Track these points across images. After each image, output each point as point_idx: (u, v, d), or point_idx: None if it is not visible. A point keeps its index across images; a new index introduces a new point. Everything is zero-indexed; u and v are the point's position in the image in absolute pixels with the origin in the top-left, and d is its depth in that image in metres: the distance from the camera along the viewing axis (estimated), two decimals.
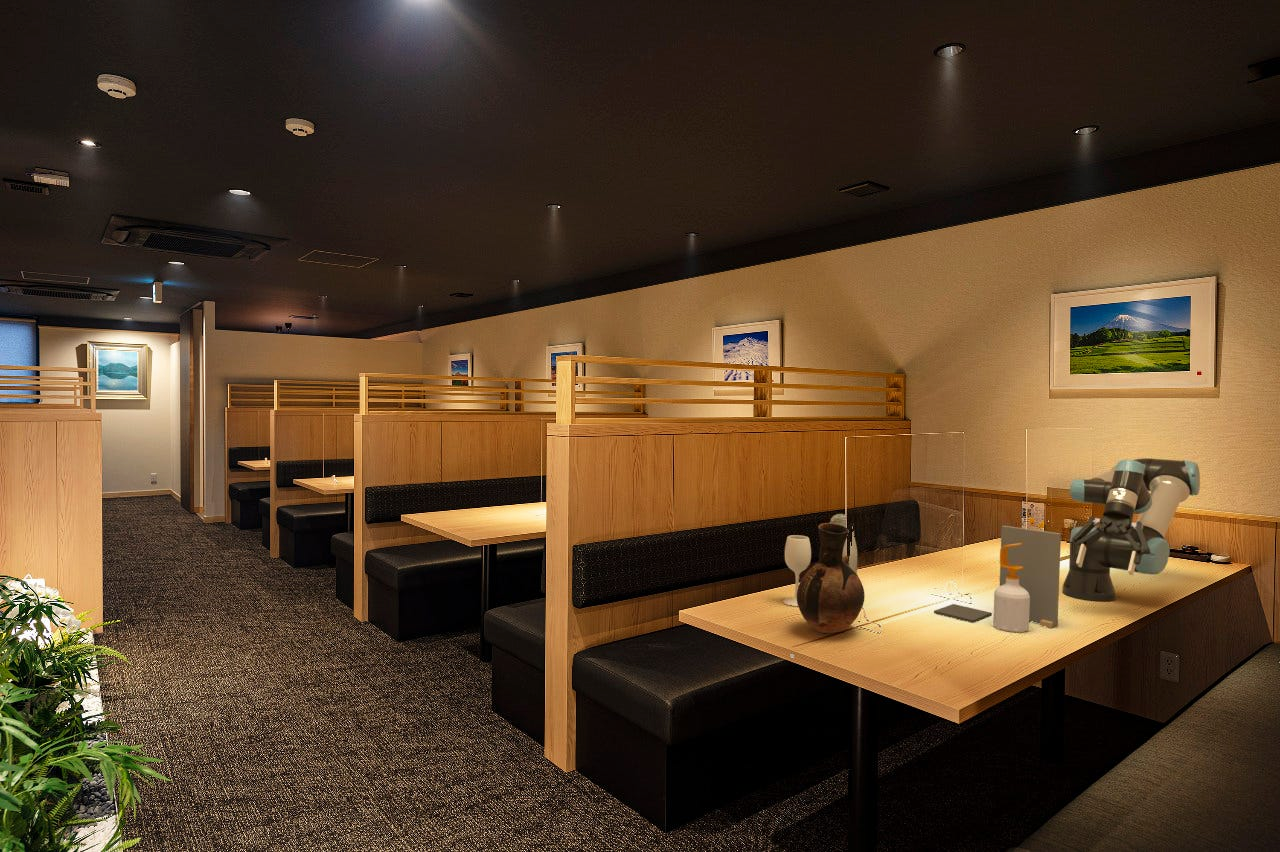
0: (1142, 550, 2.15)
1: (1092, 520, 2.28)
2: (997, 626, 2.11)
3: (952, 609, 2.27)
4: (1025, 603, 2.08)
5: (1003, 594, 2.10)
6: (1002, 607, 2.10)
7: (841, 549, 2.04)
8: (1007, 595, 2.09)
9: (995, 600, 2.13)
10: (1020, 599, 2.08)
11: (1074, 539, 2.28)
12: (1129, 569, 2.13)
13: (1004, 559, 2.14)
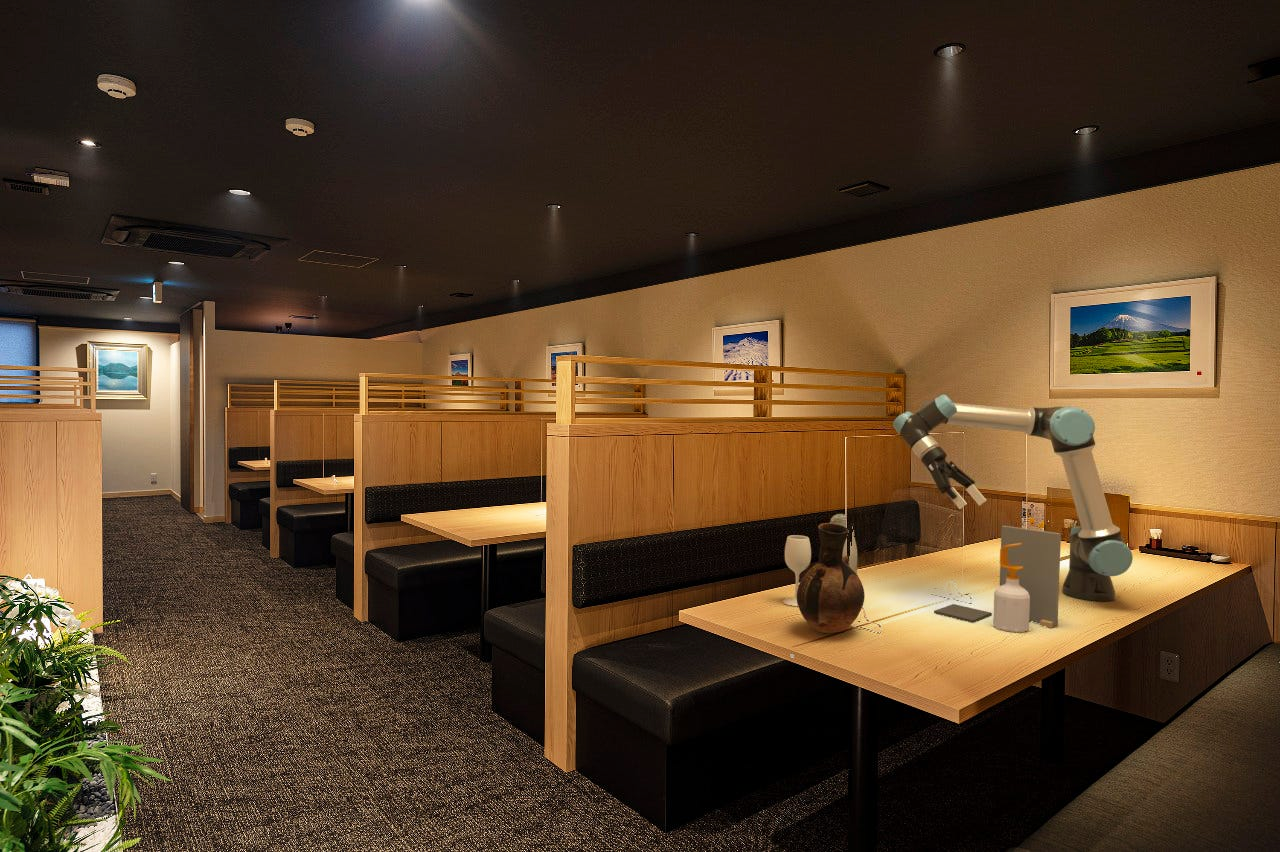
0: None
1: None
2: (997, 626, 2.11)
3: (952, 609, 2.27)
4: (1025, 603, 2.08)
5: (1003, 594, 2.10)
6: (1002, 607, 2.10)
7: (841, 549, 2.04)
8: (1007, 595, 2.09)
9: (995, 600, 2.13)
10: (1020, 599, 2.08)
11: None
12: None
13: (1004, 559, 2.14)
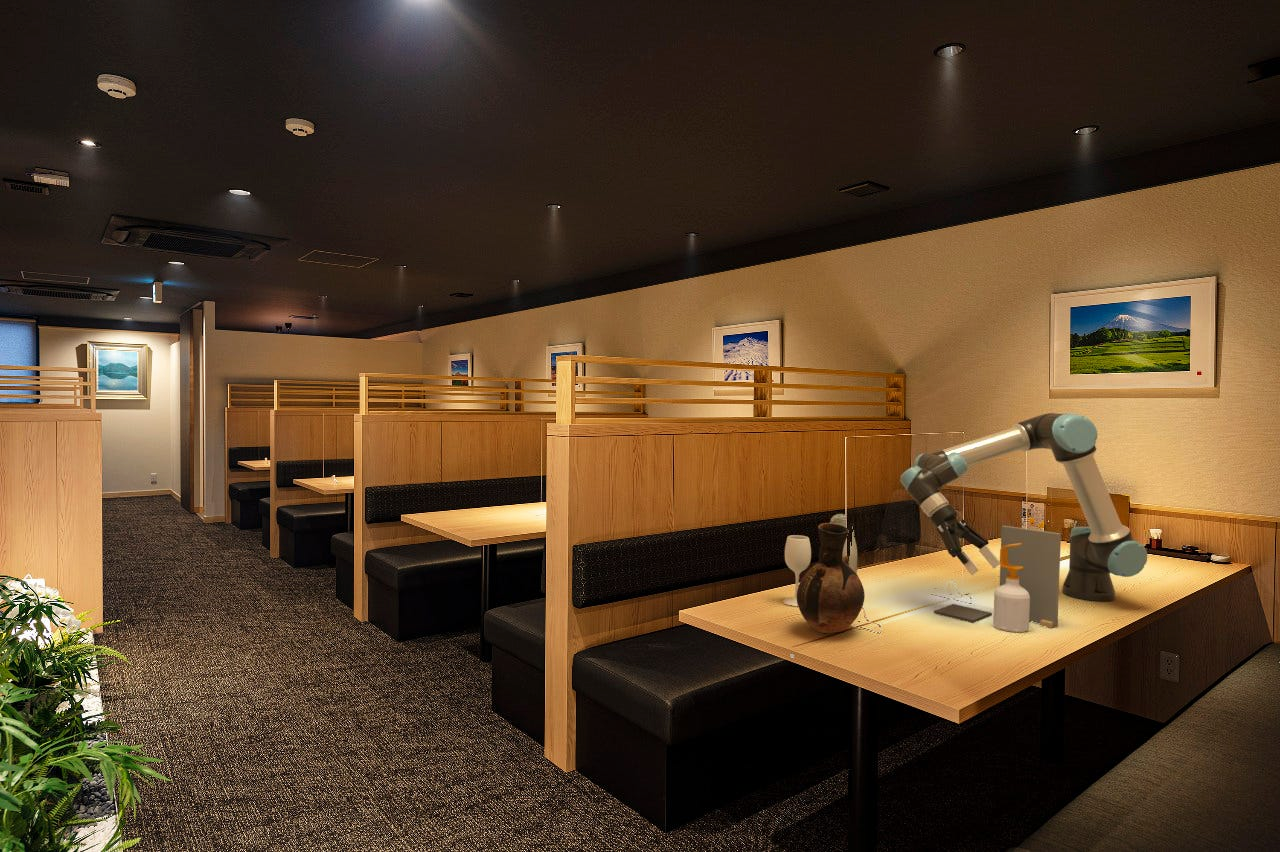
0: None
1: None
2: (997, 626, 2.11)
3: (952, 609, 2.27)
4: (1025, 603, 2.08)
5: (1003, 594, 2.10)
6: (1002, 607, 2.10)
7: (841, 549, 2.04)
8: (1007, 595, 2.09)
9: (995, 600, 2.13)
10: (1020, 599, 2.08)
11: None
12: None
13: (1004, 559, 2.14)
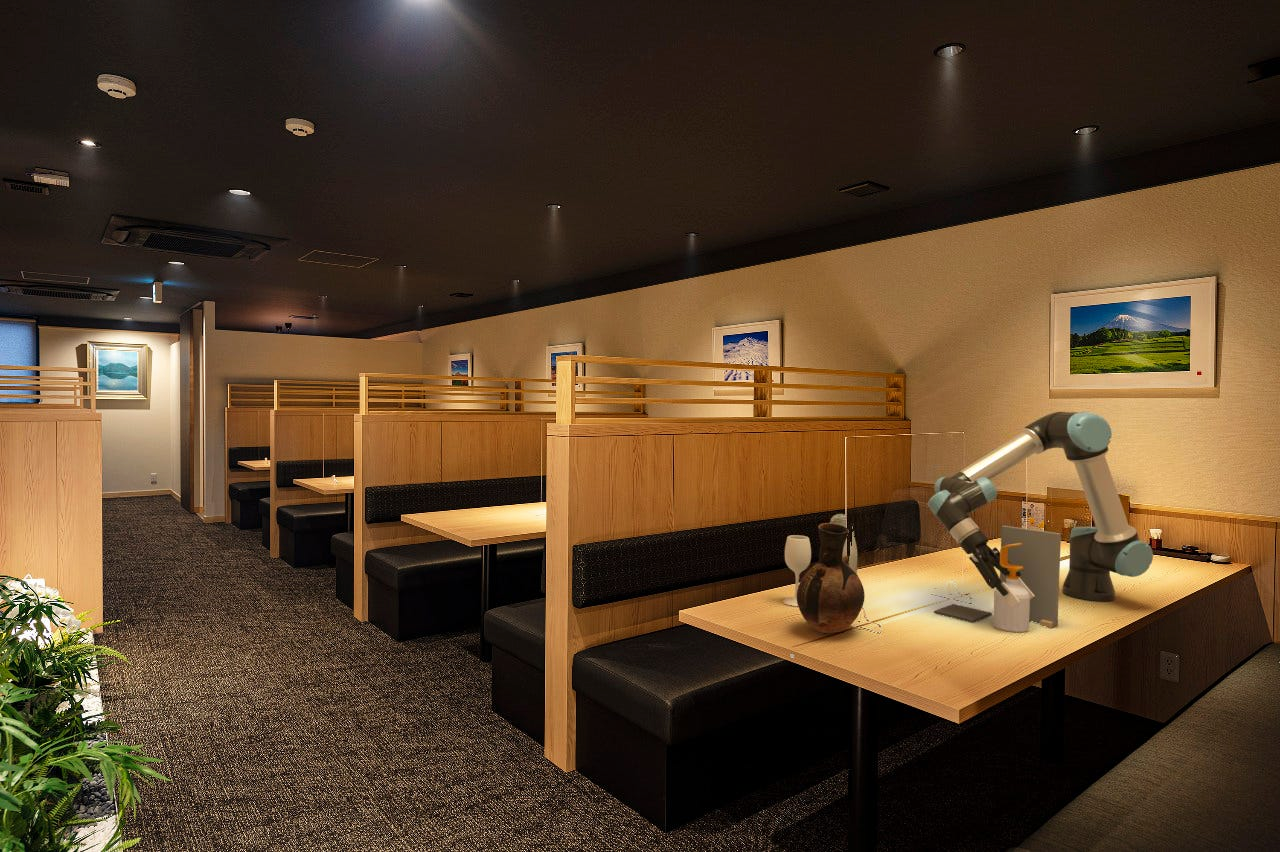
0: None
1: None
2: (997, 626, 2.11)
3: (952, 609, 2.27)
4: (1025, 603, 2.08)
5: None
6: (1002, 607, 2.10)
7: (841, 549, 2.04)
8: None
9: (995, 600, 2.13)
10: (1020, 599, 2.08)
11: None
12: None
13: (1004, 559, 2.14)
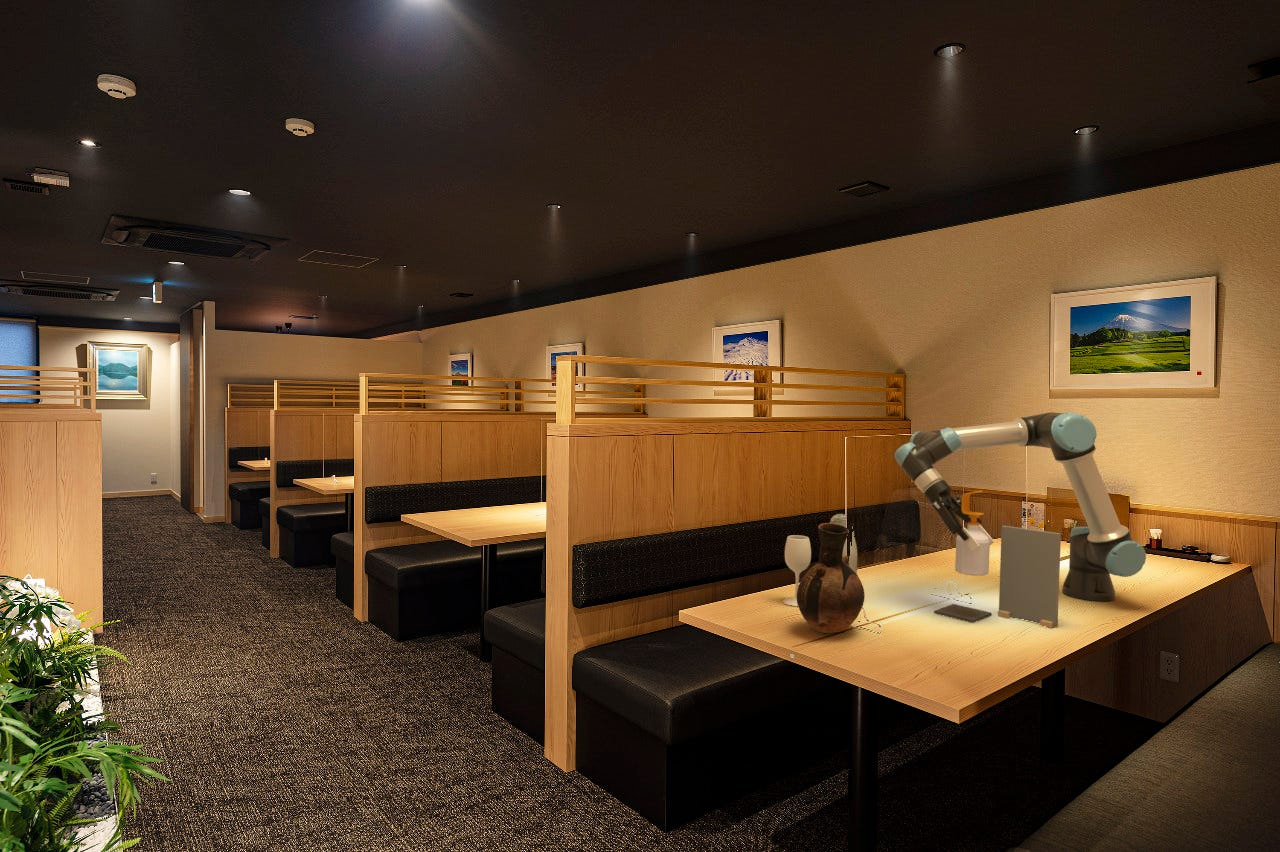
0: None
1: None
2: (958, 570, 2.19)
3: (952, 609, 2.27)
4: (985, 547, 2.16)
5: None
6: (963, 552, 2.18)
7: (841, 549, 2.04)
8: None
9: (957, 546, 2.21)
10: (980, 543, 2.16)
11: None
12: None
13: (966, 506, 2.22)
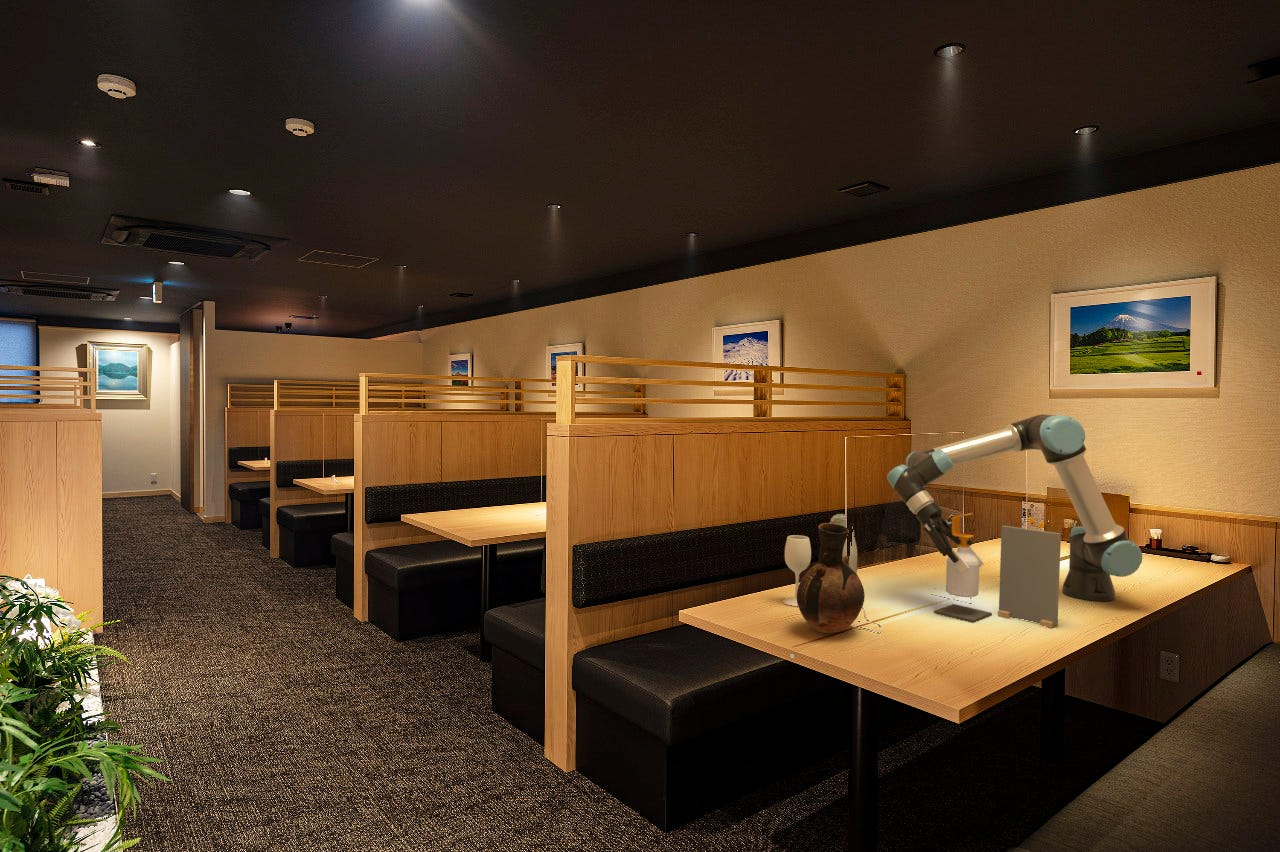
0: None
1: None
2: (949, 591, 2.24)
3: (952, 609, 2.27)
4: (974, 569, 2.20)
5: None
6: (953, 573, 2.22)
7: (841, 549, 2.04)
8: None
9: (947, 567, 2.25)
10: (970, 565, 2.20)
11: None
12: None
13: (956, 528, 2.26)
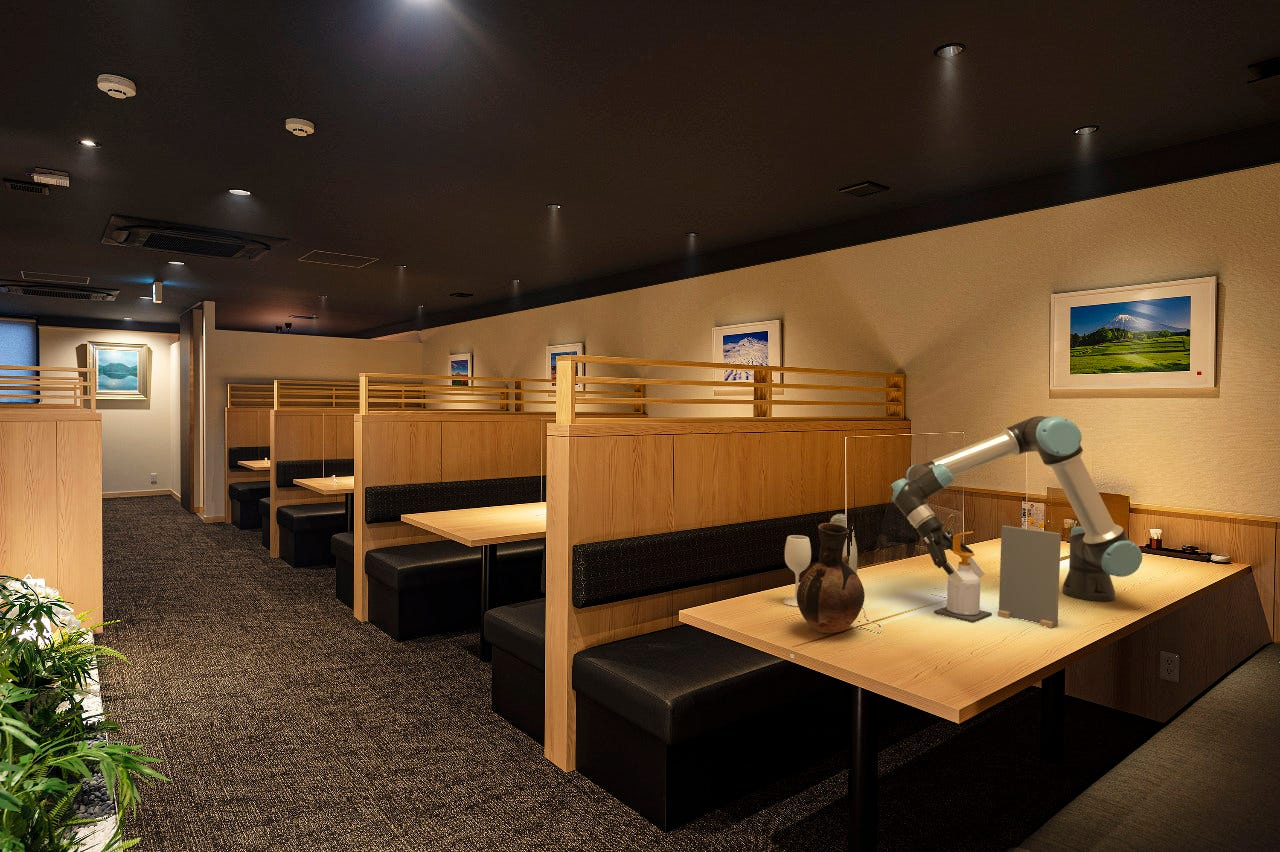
0: None
1: None
2: (950, 610, 2.24)
3: None
4: (975, 588, 2.21)
5: None
6: (954, 592, 2.23)
7: (841, 549, 2.04)
8: None
9: (948, 585, 2.25)
10: (971, 584, 2.20)
11: None
12: None
13: (957, 546, 2.26)
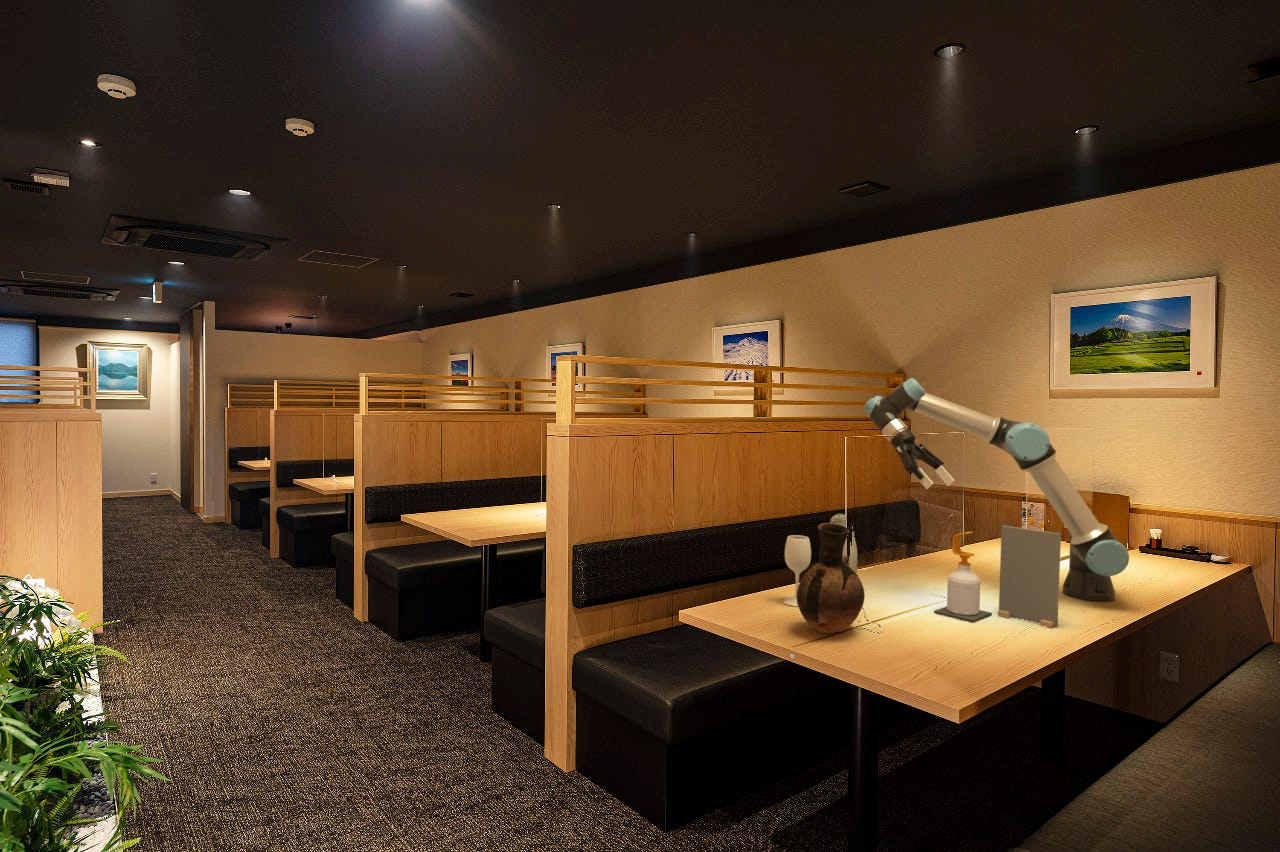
0: None
1: None
2: (950, 610, 2.24)
3: None
4: (975, 588, 2.21)
5: (955, 579, 2.22)
6: (954, 592, 2.23)
7: (841, 549, 2.04)
8: (959, 580, 2.22)
9: (948, 585, 2.25)
10: (971, 584, 2.20)
11: None
12: None
13: (957, 546, 2.26)
